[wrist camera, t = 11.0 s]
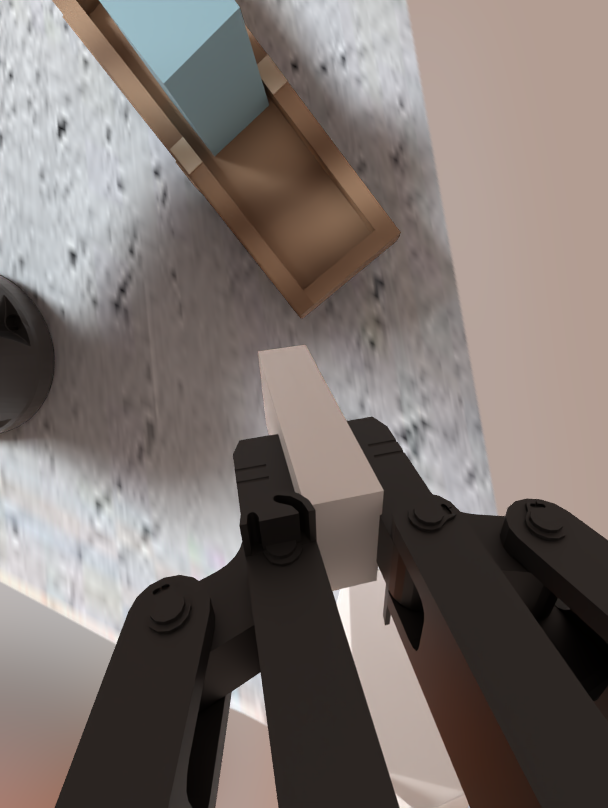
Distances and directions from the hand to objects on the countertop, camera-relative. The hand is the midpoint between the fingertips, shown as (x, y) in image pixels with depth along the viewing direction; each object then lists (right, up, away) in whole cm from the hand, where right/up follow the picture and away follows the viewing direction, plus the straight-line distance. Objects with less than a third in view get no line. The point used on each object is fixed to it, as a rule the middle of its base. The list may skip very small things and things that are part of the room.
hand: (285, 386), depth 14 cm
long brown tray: (-4, +19, +21) cm, 29 cm away
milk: (+7, -19, +27) cm, 33 cm away
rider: (-5, +20, +16) cm, 26 cm away
